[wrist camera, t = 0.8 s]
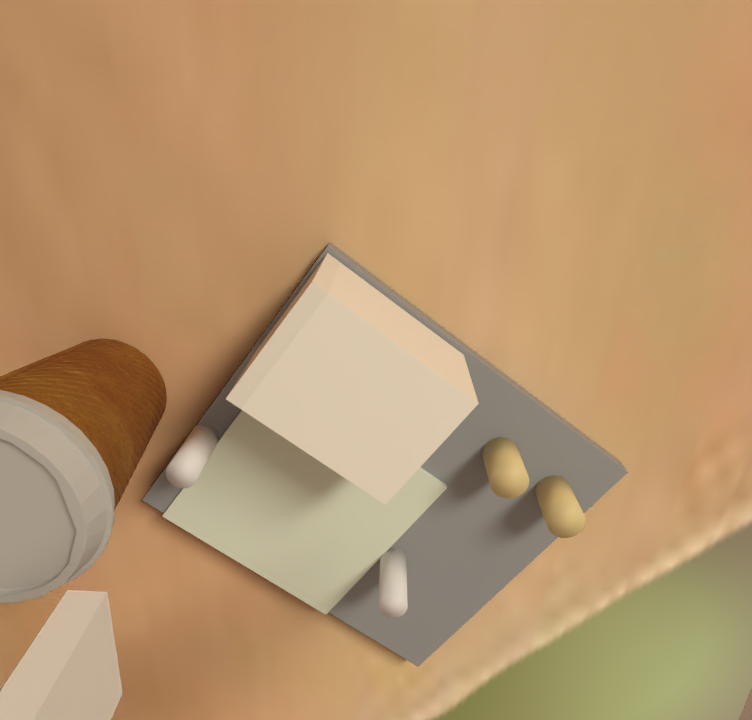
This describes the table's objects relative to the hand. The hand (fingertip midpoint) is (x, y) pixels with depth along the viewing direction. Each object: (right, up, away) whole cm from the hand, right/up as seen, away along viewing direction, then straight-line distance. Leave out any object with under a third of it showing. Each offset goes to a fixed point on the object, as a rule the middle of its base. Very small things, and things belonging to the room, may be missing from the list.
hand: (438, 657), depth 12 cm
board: (-1, -1, +24) cm, 24 cm away
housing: (-2, +6, +20) cm, 21 cm away
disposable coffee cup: (-16, +4, +22) cm, 28 cm away
